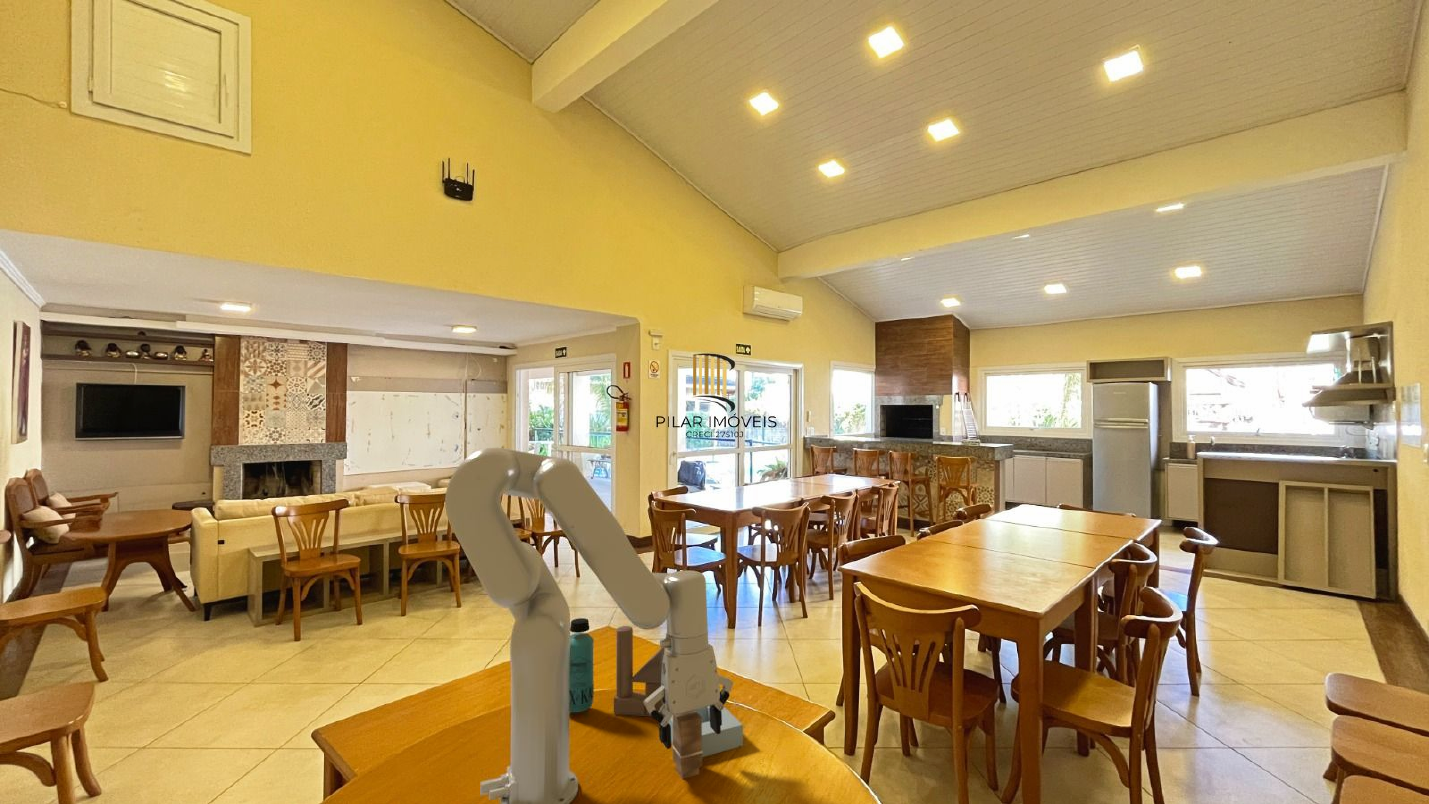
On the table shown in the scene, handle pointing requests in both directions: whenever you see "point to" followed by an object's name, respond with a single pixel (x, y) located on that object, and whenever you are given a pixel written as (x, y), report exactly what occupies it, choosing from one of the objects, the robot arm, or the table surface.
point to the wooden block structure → (634, 677)
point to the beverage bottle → (580, 667)
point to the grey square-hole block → (718, 742)
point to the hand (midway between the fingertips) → (691, 737)
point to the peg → (687, 743)
